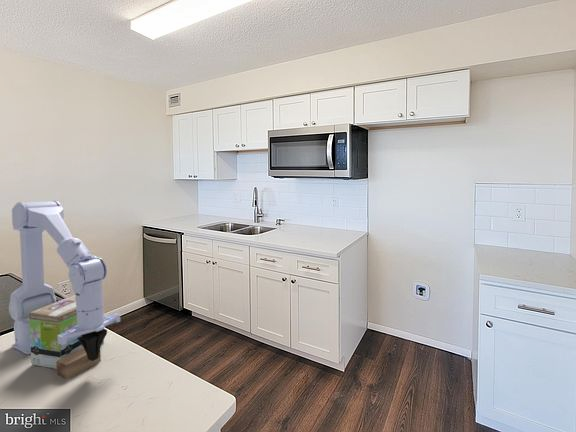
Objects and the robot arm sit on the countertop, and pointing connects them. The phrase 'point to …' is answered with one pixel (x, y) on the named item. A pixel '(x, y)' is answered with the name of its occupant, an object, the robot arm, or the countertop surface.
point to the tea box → (52, 332)
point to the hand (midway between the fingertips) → (93, 358)
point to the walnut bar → (74, 364)
